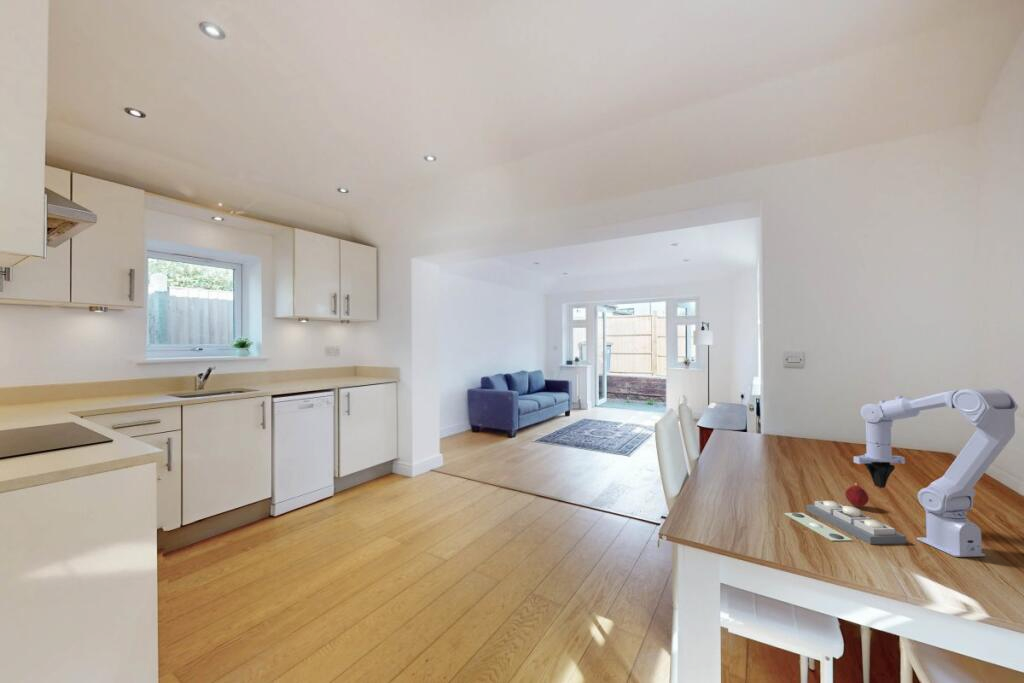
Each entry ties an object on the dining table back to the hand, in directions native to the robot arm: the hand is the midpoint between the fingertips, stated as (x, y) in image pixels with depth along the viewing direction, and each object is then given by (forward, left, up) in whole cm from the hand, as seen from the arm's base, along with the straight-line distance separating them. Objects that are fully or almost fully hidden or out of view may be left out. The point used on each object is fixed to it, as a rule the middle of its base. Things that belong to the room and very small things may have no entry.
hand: (879, 486), depth 120 cm
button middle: (-3, +12, -7) cm, 14 cm away
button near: (-10, +12, -8) cm, 18 cm away
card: (-3, +23, -10) cm, 25 cm away
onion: (+10, -2, -11) cm, 15 cm away
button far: (+4, +12, -8) cm, 15 cm away
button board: (-3, +12, -10) cm, 16 cm away
